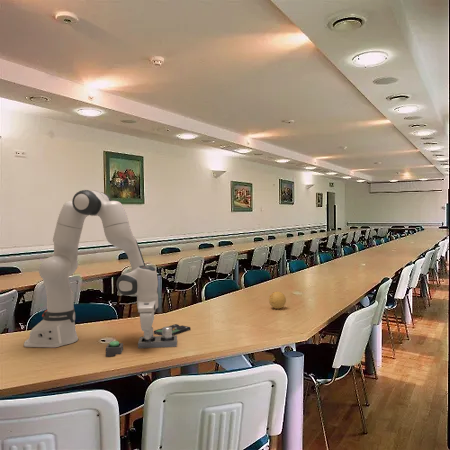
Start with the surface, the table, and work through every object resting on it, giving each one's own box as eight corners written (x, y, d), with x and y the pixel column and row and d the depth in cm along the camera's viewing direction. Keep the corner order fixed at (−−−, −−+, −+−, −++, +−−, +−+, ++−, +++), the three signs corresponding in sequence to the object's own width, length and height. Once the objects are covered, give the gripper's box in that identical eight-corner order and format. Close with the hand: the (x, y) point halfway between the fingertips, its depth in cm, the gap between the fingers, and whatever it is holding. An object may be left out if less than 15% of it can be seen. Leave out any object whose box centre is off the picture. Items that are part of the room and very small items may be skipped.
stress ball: (287, 310, 253) (283, 296, 260) (288, 299, 246) (283, 286, 253) (271, 313, 252) (266, 300, 259) (271, 303, 245) (266, 289, 253)
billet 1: (143, 346, 183) (143, 329, 183) (144, 343, 187) (144, 327, 187) (153, 345, 184) (152, 329, 183) (153, 342, 188) (153, 326, 187)
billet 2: (162, 345, 184) (162, 329, 184) (163, 342, 188) (162, 326, 188) (172, 345, 184) (171, 328, 184) (172, 342, 188) (172, 326, 188)
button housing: (105, 356, 173) (105, 348, 173) (108, 351, 179) (108, 343, 179) (121, 356, 174) (120, 347, 173) (123, 351, 179) (123, 342, 179)
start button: (109, 346, 174) (109, 343, 174) (110, 344, 178) (110, 341, 178) (118, 346, 174) (118, 343, 174) (119, 343, 178) (119, 340, 178)
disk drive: (175, 329, 214) (153, 336, 202) (175, 323, 214) (153, 330, 202) (191, 332, 208) (169, 339, 196) (191, 326, 208) (169, 333, 196)
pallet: (138, 350, 180) (137, 343, 180) (140, 343, 189) (140, 336, 189) (176, 348, 182) (176, 341, 182) (177, 342, 191) (177, 335, 191)
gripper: (142, 299, 195) (143, 329, 195) (137, 309, 174) (138, 343, 175) (156, 298, 195) (157, 329, 196) (153, 308, 175) (154, 342, 175)
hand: (148, 335), depth 185 cm, fingers open, 8 cm apart
